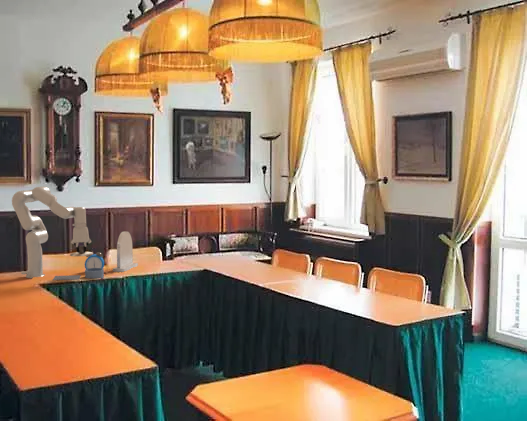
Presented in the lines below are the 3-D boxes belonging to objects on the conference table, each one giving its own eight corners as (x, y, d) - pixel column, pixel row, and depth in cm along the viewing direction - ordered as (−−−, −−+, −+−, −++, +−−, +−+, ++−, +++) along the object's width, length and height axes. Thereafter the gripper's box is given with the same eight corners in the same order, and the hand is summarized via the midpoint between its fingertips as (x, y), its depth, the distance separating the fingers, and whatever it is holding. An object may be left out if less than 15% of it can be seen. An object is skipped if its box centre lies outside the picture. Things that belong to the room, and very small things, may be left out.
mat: (52, 281, 426) (52, 280, 426) (55, 277, 442) (55, 275, 442) (79, 281, 429) (79, 279, 429) (81, 276, 446) (81, 275, 446)
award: (126, 265, 494) (126, 229, 492) (137, 265, 492) (137, 229, 490) (112, 271, 466) (111, 233, 464) (123, 272, 465) (123, 233, 463)
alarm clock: (84, 274, 455) (84, 253, 454) (85, 272, 461) (85, 251, 460) (103, 273, 457) (103, 252, 455) (104, 272, 463) (104, 251, 462)
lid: (68, 256, 427) (68, 247, 427) (71, 253, 442) (70, 245, 442) (92, 255, 430) (92, 246, 430) (93, 252, 445) (93, 244, 445)
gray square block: (85, 280, 432) (85, 271, 431) (84, 277, 443) (84, 268, 442) (104, 279, 436) (104, 270, 435) (102, 275, 447) (102, 267, 446)
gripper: (67, 226, 430) (68, 253, 431) (92, 225, 433) (93, 252, 434) (68, 225, 437) (69, 252, 438) (93, 224, 440) (94, 251, 441)
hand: (81, 252), depth 436 cm, fingers closed on lid, 3 cm apart
